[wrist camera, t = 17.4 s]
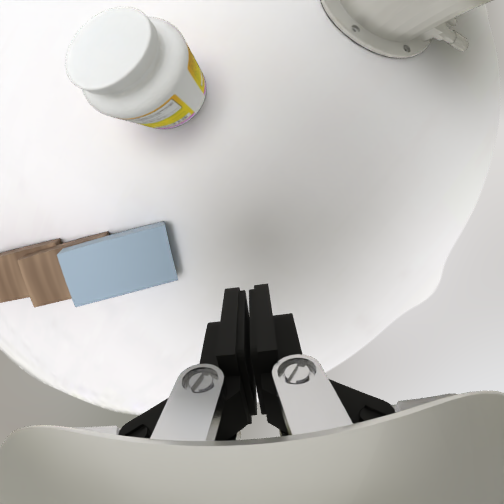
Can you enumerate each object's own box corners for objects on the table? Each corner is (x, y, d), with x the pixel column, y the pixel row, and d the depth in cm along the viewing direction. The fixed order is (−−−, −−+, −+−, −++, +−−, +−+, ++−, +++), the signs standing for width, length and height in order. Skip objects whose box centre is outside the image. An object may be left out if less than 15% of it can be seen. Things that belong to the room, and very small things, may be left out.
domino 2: (105, 235, 23) (17, 260, 20) (119, 286, 25) (34, 307, 22) (108, 231, 25) (24, 254, 22) (121, 279, 26) (39, 299, 24)
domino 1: (54, 242, 23) (-16, 260, 20) (67, 289, 25) (-2, 303, 22) (60, 238, 25) (-8, 255, 22) (71, 282, 26) (4, 295, 23)
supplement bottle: (158, 51, 20) (98, -17, 7) (221, 77, 21) (203, 6, 9) (121, 113, 21) (31, 89, 9) (182, 142, 23) (122, 130, 10)
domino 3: (165, 224, 23) (56, 254, 20) (178, 279, 24) (75, 307, 21) (163, 221, 25) (62, 248, 22) (175, 272, 26) (79, 298, 23)
